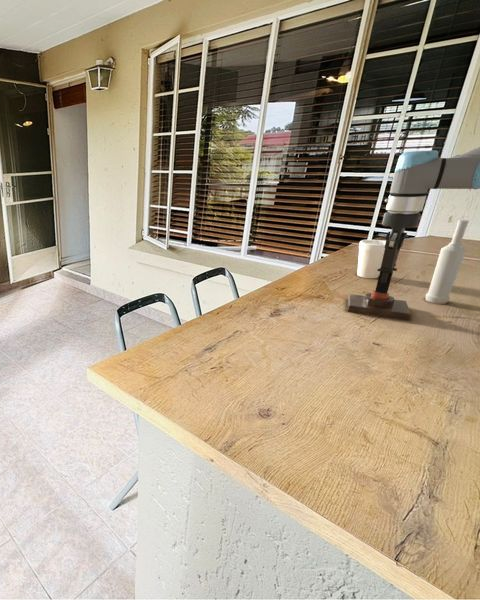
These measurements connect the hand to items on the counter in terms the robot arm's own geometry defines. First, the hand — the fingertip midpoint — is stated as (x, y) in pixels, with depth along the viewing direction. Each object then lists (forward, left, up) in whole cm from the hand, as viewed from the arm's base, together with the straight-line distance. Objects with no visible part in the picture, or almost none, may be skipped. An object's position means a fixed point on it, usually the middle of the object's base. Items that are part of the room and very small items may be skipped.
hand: (381, 291), depth 104 cm
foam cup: (+8, -35, -6) cm, 36 cm away
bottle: (-12, -18, -6) cm, 22 cm away
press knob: (0, 0, -2) cm, 2 cm away
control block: (0, 0, -6) cm, 6 cm away
